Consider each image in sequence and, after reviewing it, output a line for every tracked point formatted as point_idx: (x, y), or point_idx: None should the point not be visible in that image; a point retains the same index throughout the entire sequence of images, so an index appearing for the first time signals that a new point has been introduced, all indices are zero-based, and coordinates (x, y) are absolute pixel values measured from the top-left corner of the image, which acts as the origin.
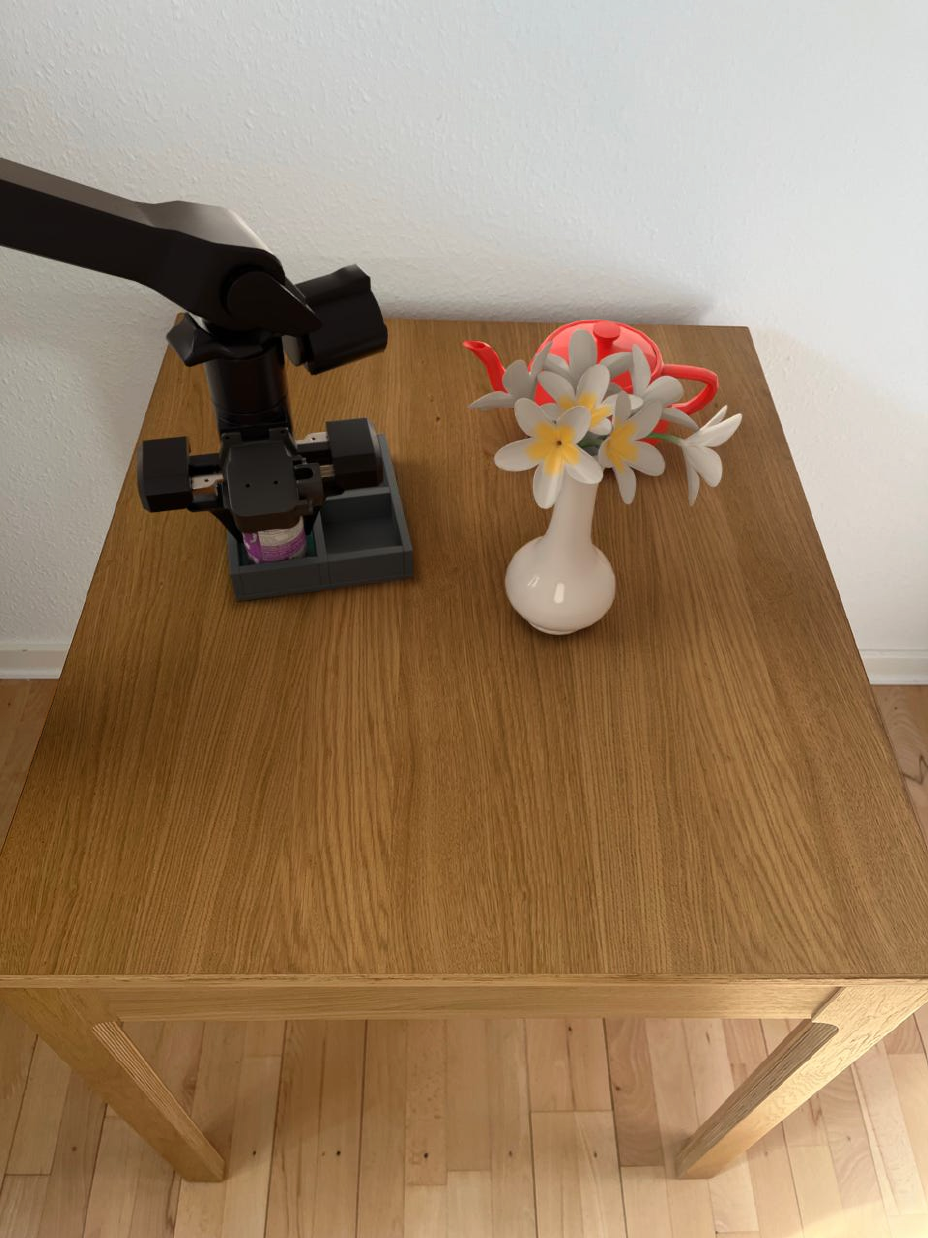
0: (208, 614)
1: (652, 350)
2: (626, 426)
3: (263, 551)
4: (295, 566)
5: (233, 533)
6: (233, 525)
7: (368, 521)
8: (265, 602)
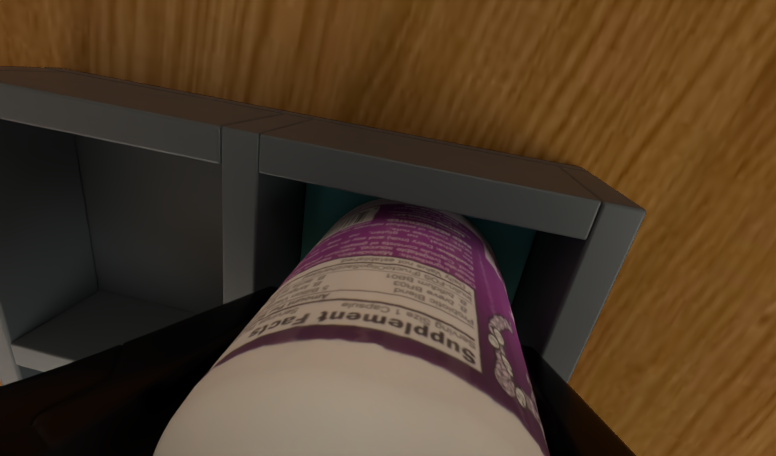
0: (694, 149)
1: None
2: None
3: (464, 264)
4: (354, 151)
5: (572, 398)
6: (590, 447)
7: (155, 295)
8: (497, 132)
